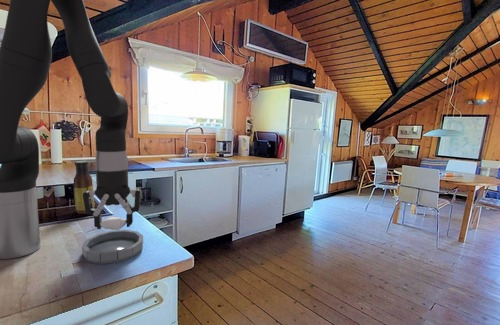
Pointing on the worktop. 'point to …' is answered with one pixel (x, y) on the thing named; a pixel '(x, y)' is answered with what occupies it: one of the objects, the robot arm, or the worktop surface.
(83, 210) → the sauce bottle
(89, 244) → the round dish
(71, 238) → the worktop surface
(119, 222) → the dumpling
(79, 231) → the worktop surface
